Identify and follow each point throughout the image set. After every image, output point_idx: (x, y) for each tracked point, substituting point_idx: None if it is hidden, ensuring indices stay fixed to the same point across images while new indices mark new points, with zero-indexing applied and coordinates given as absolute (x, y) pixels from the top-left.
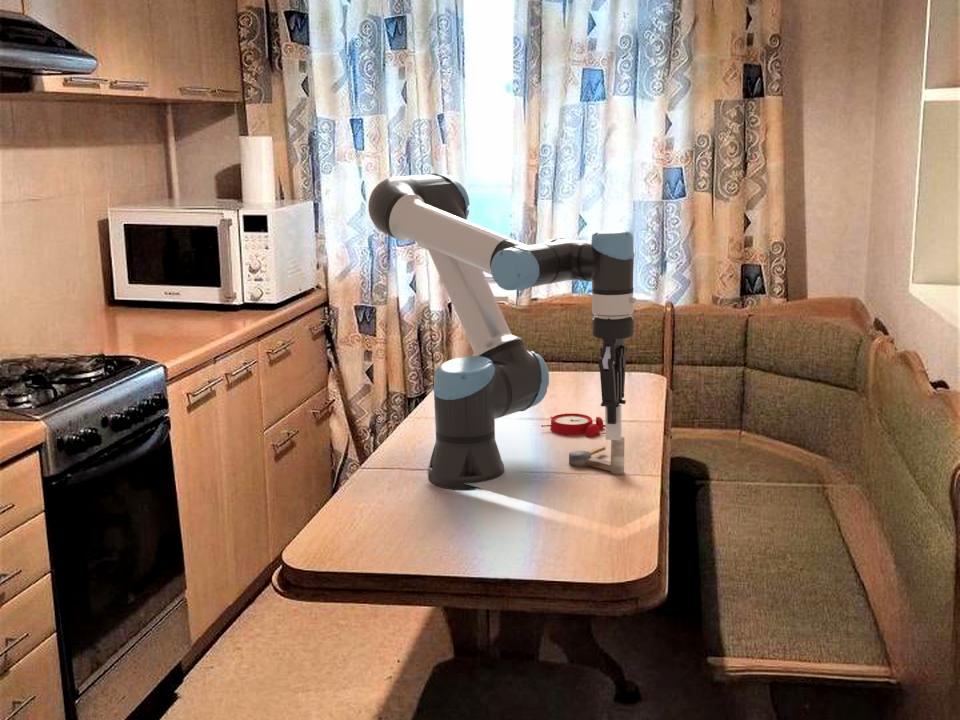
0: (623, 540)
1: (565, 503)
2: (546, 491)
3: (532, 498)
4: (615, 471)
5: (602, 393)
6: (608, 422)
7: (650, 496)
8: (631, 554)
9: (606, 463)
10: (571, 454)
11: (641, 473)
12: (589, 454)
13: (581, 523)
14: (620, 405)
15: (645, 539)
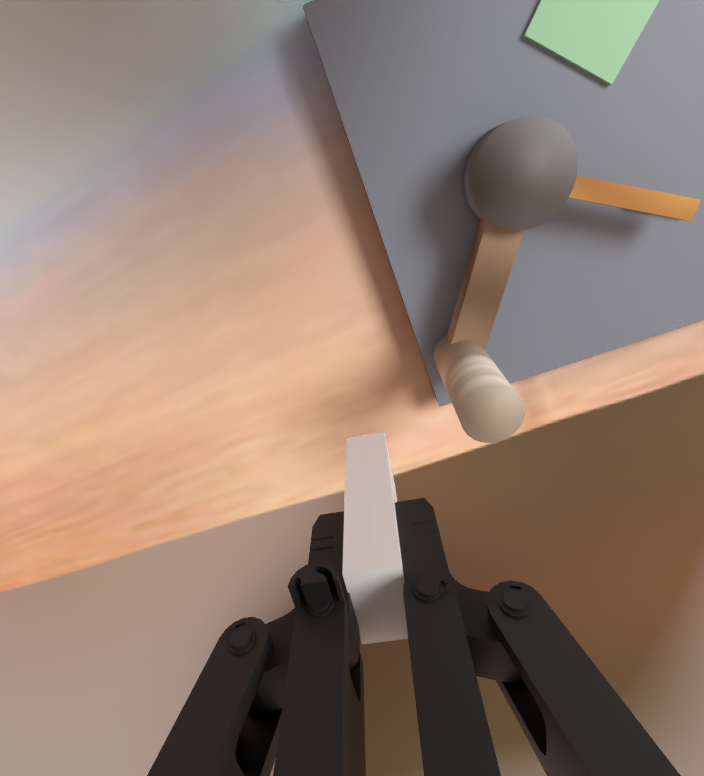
0: (59, 518)
1: (164, 294)
2: (220, 173)
3: (126, 162)
4: (435, 360)
5: (166, 749)
6: (315, 526)
7: None
8: (11, 553)
9: (464, 322)
10: (500, 141)
11: (541, 384)
12: (527, 223)
13: (68, 403)
14: (400, 637)
15: (99, 549)
